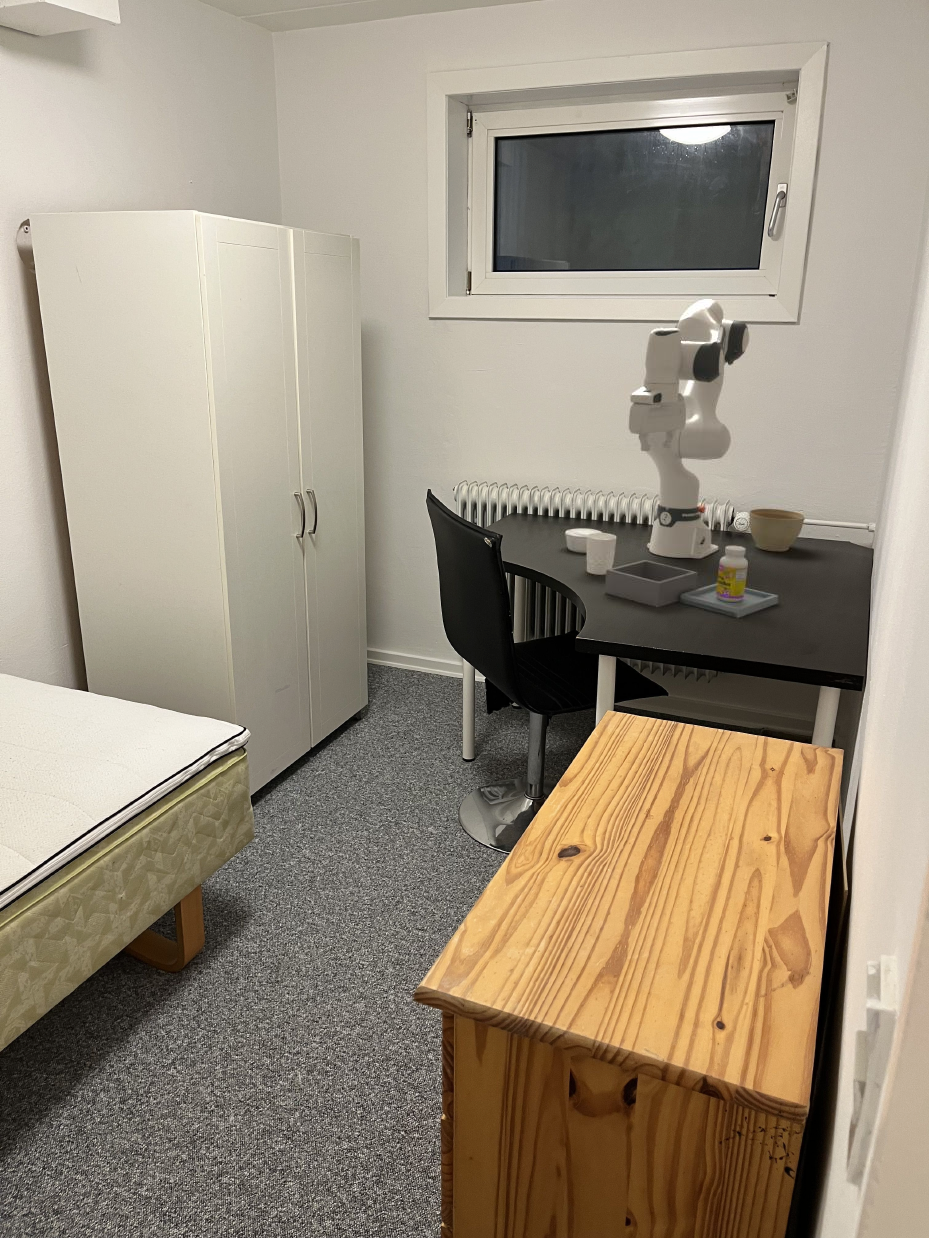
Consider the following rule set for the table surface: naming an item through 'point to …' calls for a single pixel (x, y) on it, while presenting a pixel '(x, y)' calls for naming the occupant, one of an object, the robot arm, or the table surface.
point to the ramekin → (578, 539)
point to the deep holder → (650, 582)
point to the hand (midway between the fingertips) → (656, 449)
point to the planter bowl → (775, 528)
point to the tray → (736, 609)
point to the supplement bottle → (732, 575)
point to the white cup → (600, 552)
